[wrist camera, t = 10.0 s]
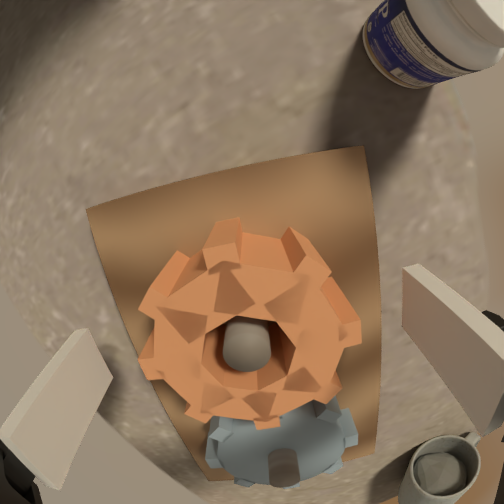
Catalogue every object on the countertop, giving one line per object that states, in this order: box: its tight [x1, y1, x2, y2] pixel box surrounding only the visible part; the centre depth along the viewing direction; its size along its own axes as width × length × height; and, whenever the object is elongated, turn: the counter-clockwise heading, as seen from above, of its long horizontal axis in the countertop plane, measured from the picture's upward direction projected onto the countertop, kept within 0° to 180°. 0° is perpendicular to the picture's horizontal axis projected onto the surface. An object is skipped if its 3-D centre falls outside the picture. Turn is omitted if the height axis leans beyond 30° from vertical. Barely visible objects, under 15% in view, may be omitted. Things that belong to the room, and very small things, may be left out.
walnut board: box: [86, 145, 381, 488], centre depth 15 cm, size 23×14×6 cm, turn 12°
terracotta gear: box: [138, 217, 362, 430], centre depth 13 cm, size 9×9×4 cm
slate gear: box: [205, 395, 358, 489], centre depth 17 cm, size 10×10×2 cm
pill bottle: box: [363, 0, 504, 89], centre depth 9 cm, size 5×5×9 cm
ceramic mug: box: [398, 432, 481, 504], centre depth 19 cm, size 11×8×8 cm
